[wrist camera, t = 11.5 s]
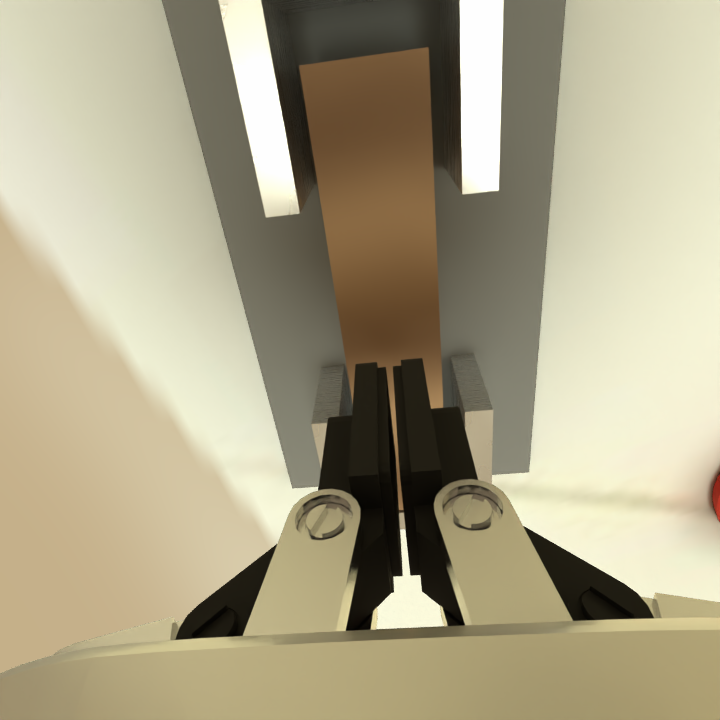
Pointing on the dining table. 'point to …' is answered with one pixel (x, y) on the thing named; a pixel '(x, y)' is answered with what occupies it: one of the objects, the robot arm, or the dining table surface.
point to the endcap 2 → (464, 394)
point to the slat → (379, 209)
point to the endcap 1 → (284, 107)
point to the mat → (452, 210)
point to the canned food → (717, 497)
